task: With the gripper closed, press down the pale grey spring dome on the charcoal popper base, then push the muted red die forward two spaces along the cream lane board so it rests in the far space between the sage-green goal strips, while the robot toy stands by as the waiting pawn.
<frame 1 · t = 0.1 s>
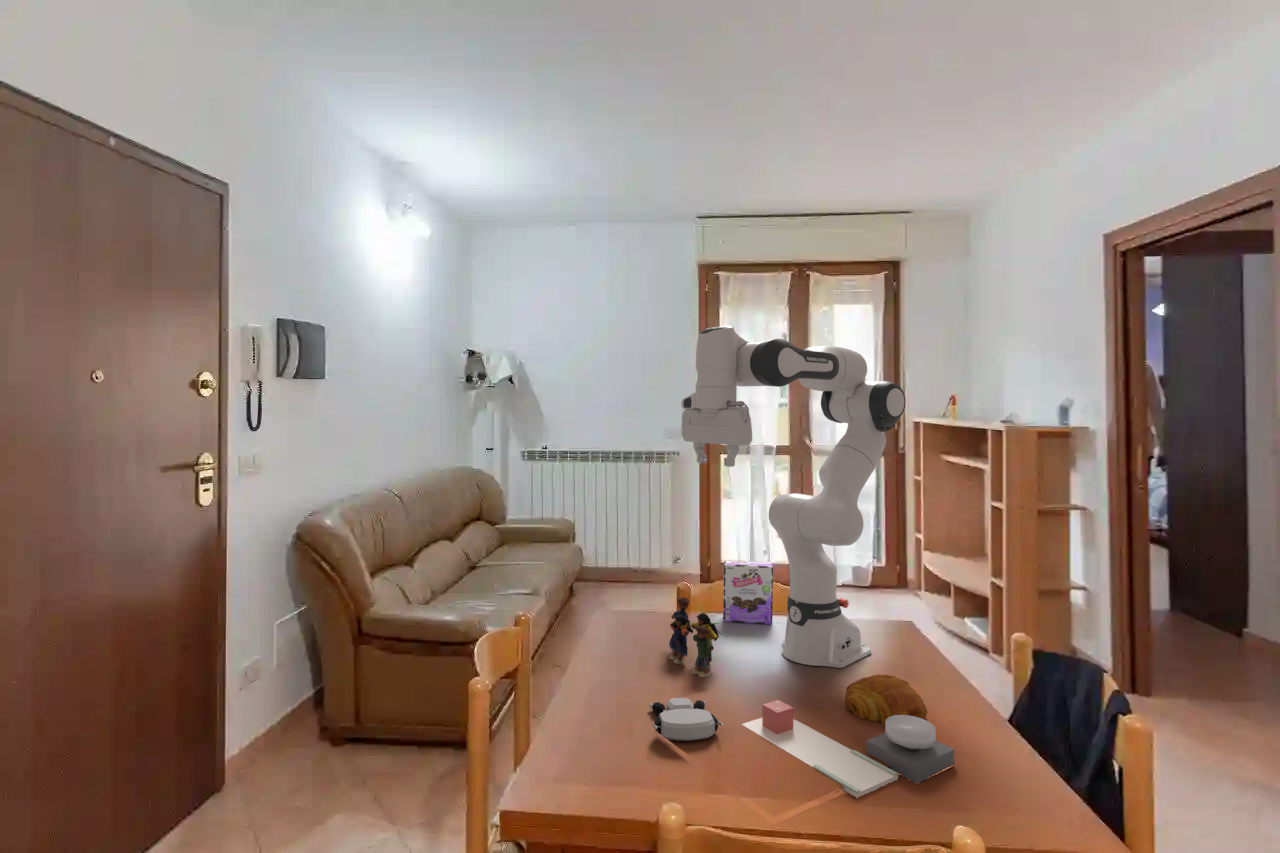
hand: (715, 464, 148), 48 cm above the table, fingers open, 8 cm apart
candy box: (747, 621, 194), on the table
doll family: (690, 661, 163), on the table
popper base: (909, 761, 117), on the table
robot toy: (683, 731, 128), on the table
red die: (777, 727, 128), point 1 cm above the table, touching lane board
lane board: (813, 752, 120), on the table
dome plunger: (910, 737, 117), point 4 cm above the table, slide at 0.9 cm
croissant: (886, 715, 135), on the table
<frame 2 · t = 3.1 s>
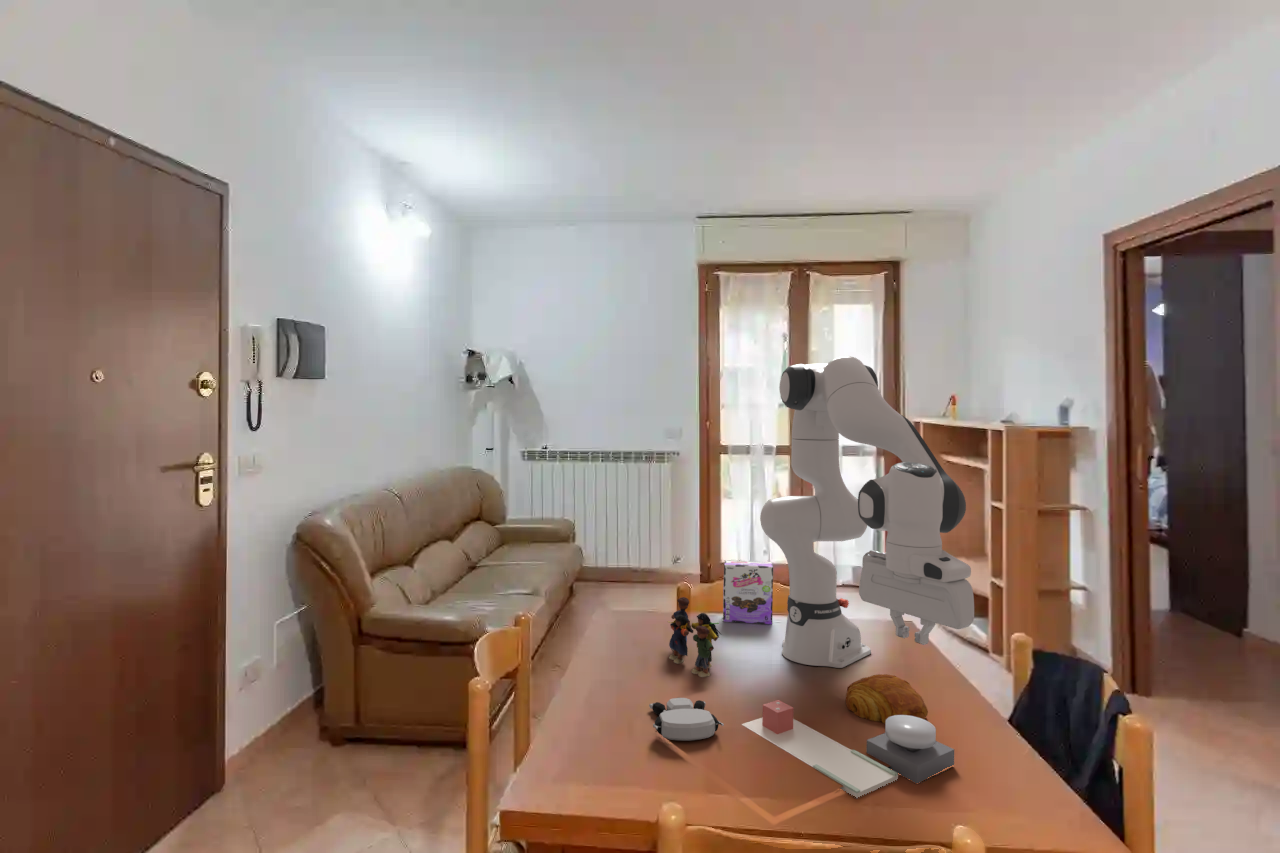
hand: (911, 639, 116), 21 cm above the table, fingers closed
nothing on the table moved.
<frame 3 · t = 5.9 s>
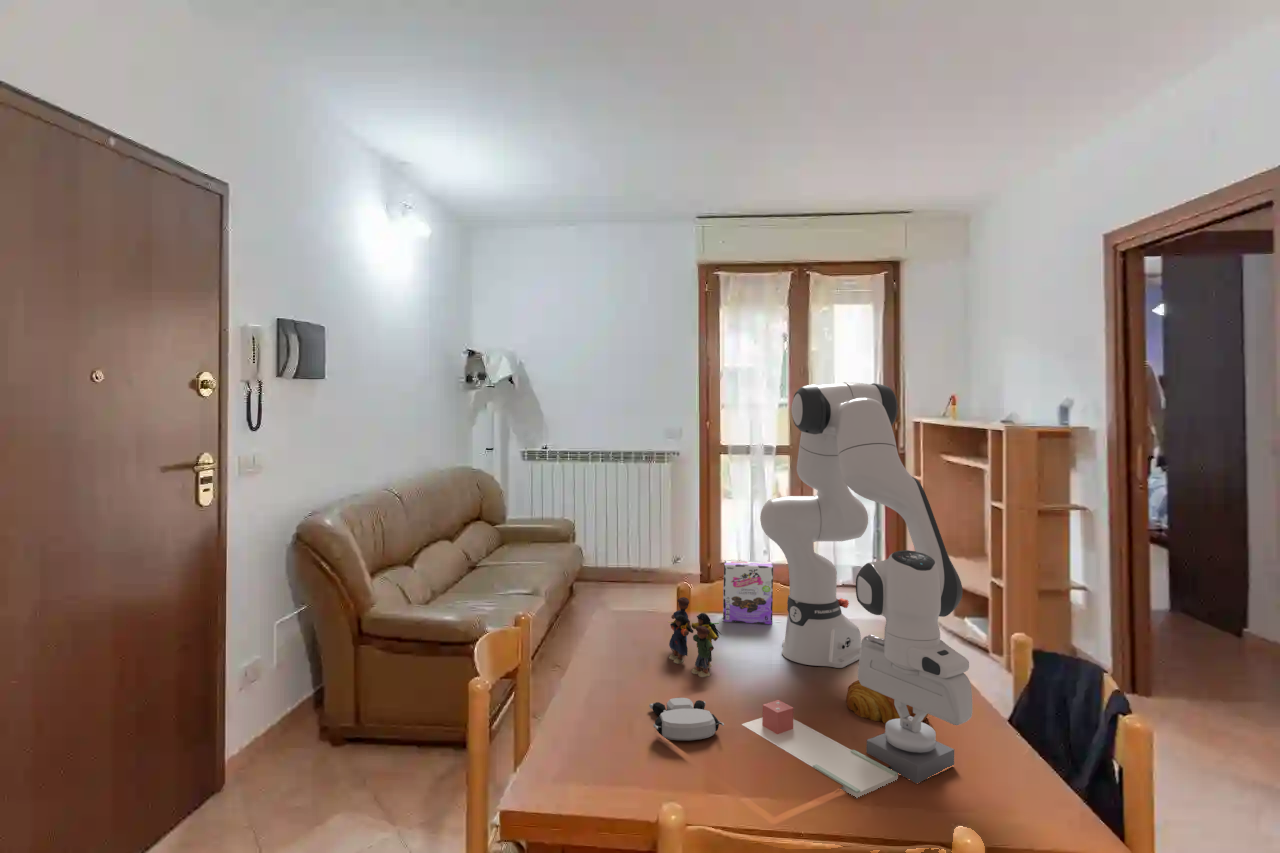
hand: (910, 728, 117), 6 cm above the table, fingers closed, pressing on dome plunger
dome plunger: (910, 740, 117), point 4 cm above the table, slide at 1.5 cm, touching gripper
everything else where it was.
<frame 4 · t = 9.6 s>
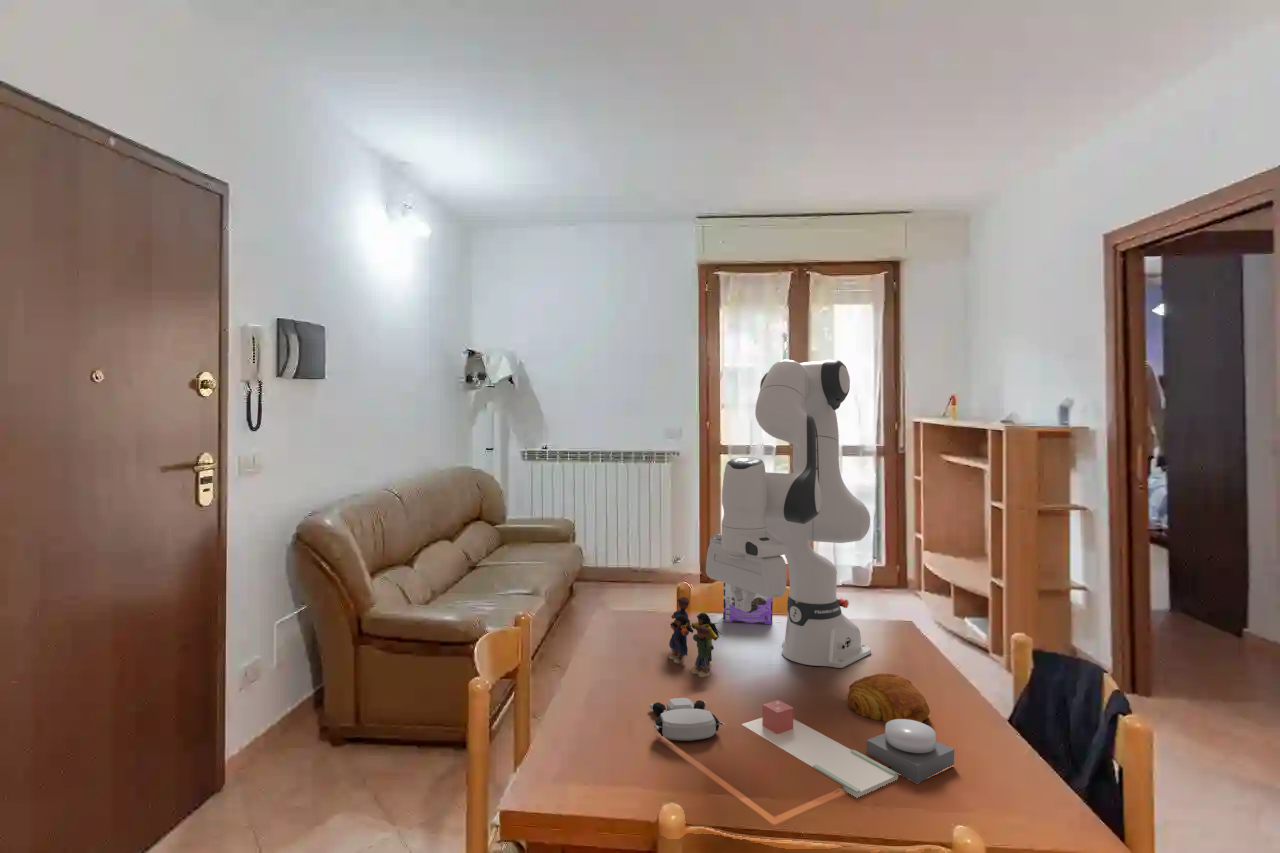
hand: (742, 609, 135), 20 cm above the table, fingers closed
dome plunger: (910, 741, 117), point 4 cm above the table, slide at 1.6 cm
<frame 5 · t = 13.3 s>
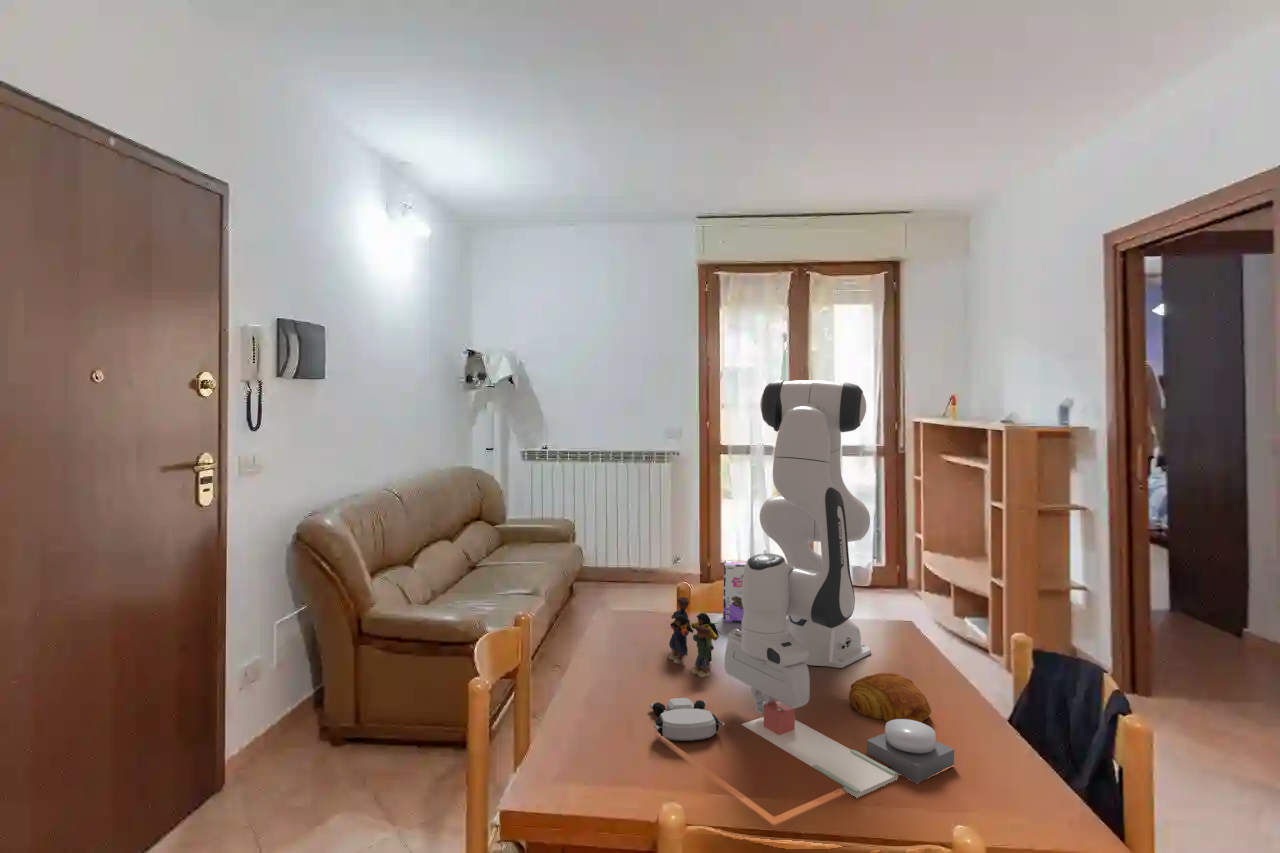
hand: (763, 712, 130), 2 cm above the table, fingers closed
red die: (779, 728, 127), point 1 cm above the table, touching gripper
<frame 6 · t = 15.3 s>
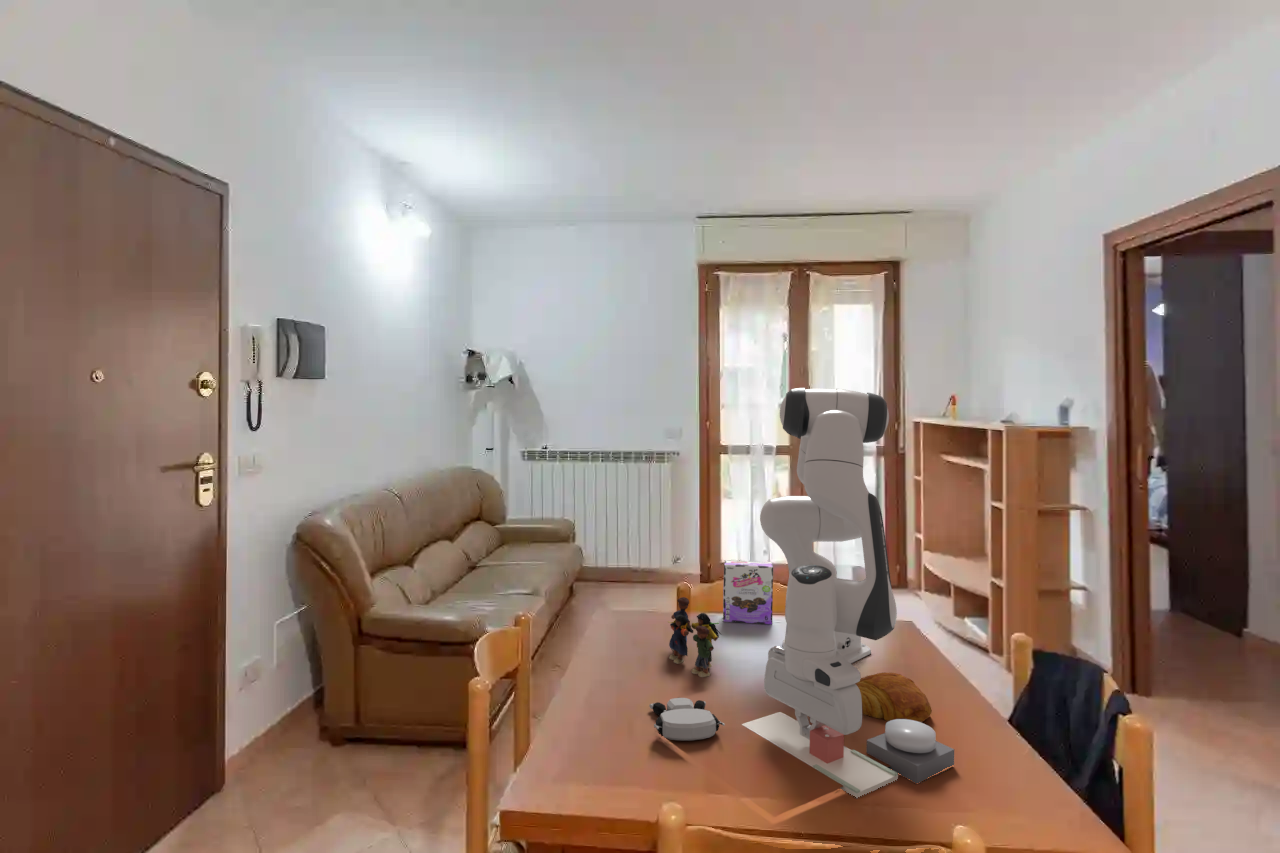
hand: (809, 737, 121), 2 cm above the table, fingers closed
red die: (826, 755, 117), point 1 cm above the table, touching gripper
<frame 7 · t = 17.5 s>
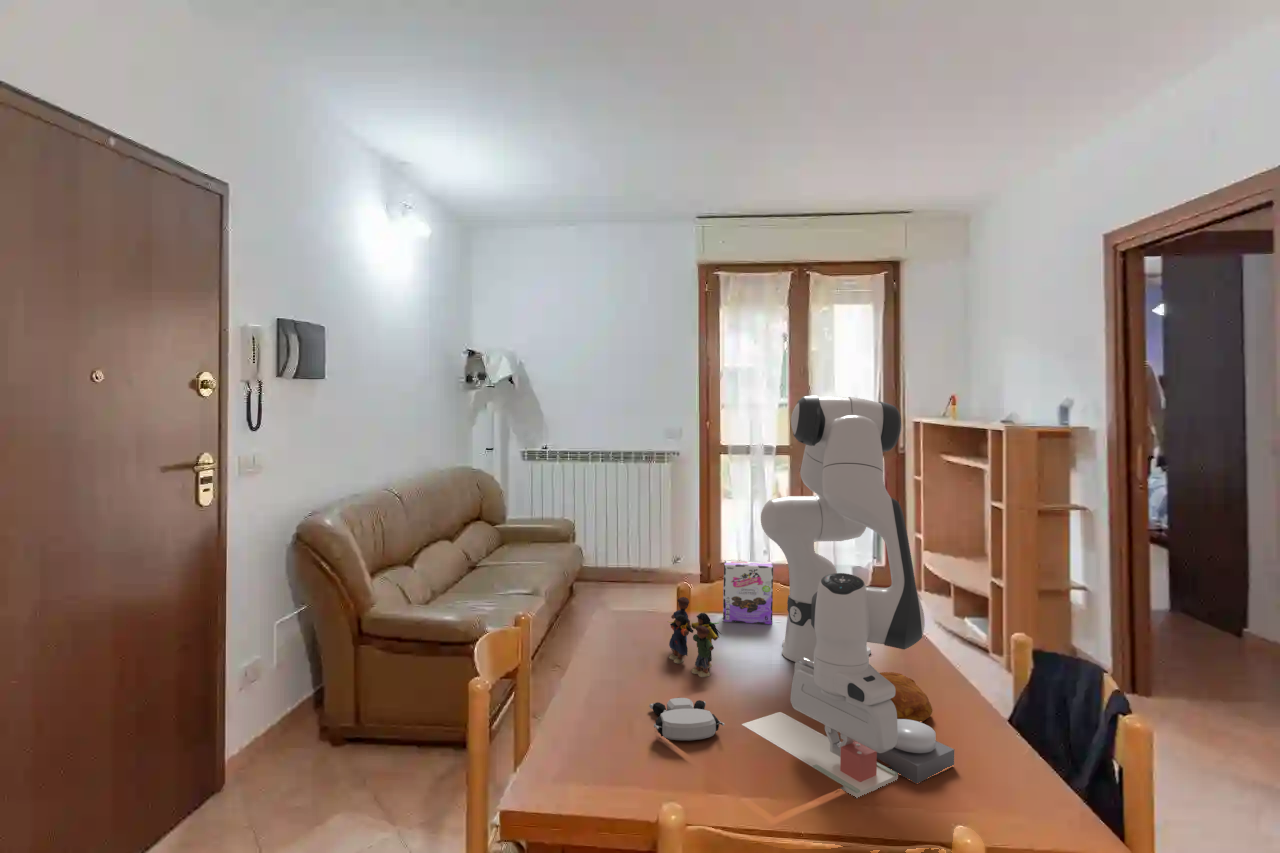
hand: (839, 754, 115), 2 cm above the table, fingers closed
red die: (858, 773, 112), point 1 cm above the table, touching gripper, lane board
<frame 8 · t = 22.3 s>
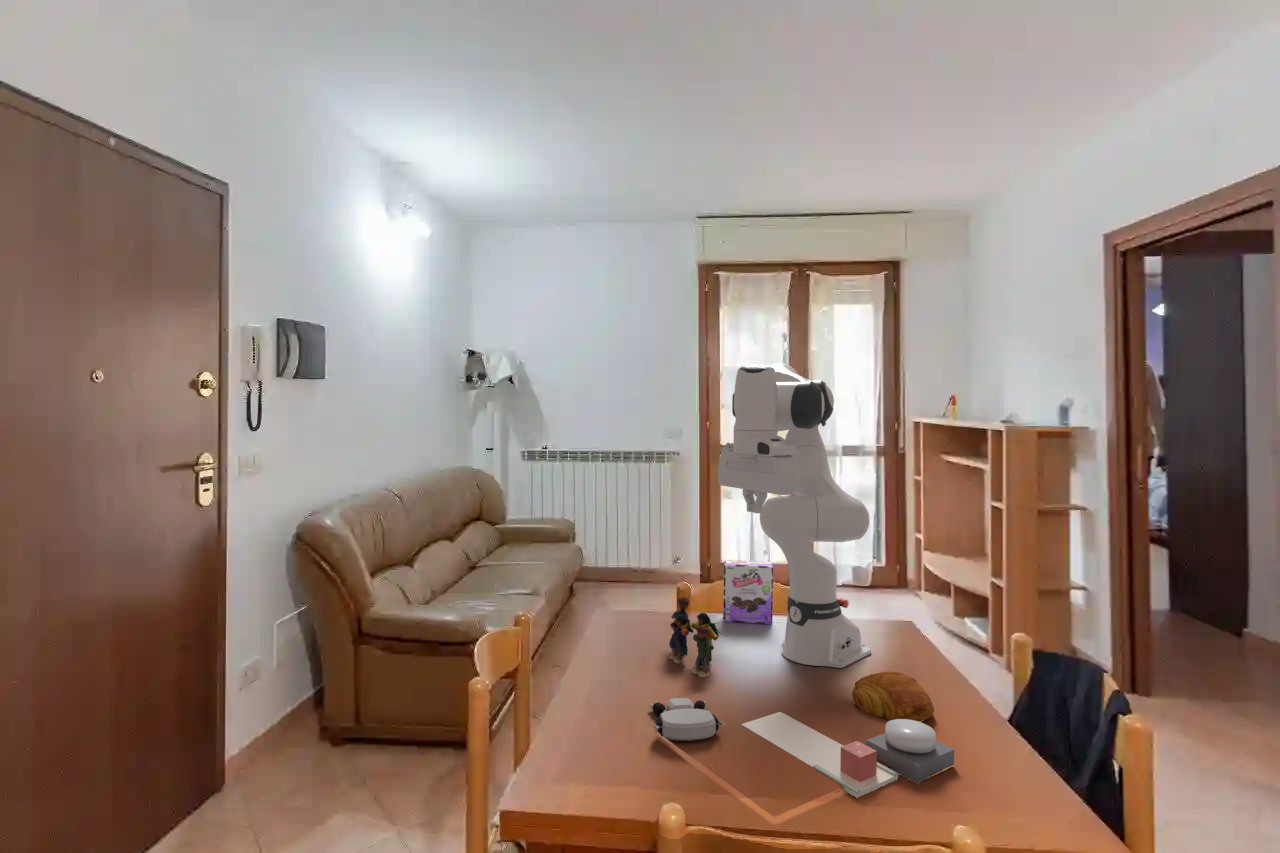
hand: (754, 512, 139), 39 cm above the table, fingers closed
red die: (858, 772, 112), point 1 cm above the table, touching lane board
at the end: red die inside the target area (0.5 cm from its centre), point 0.8 cm above the table; red die tilted 0°; red die moved 18.7 cm from its start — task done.
